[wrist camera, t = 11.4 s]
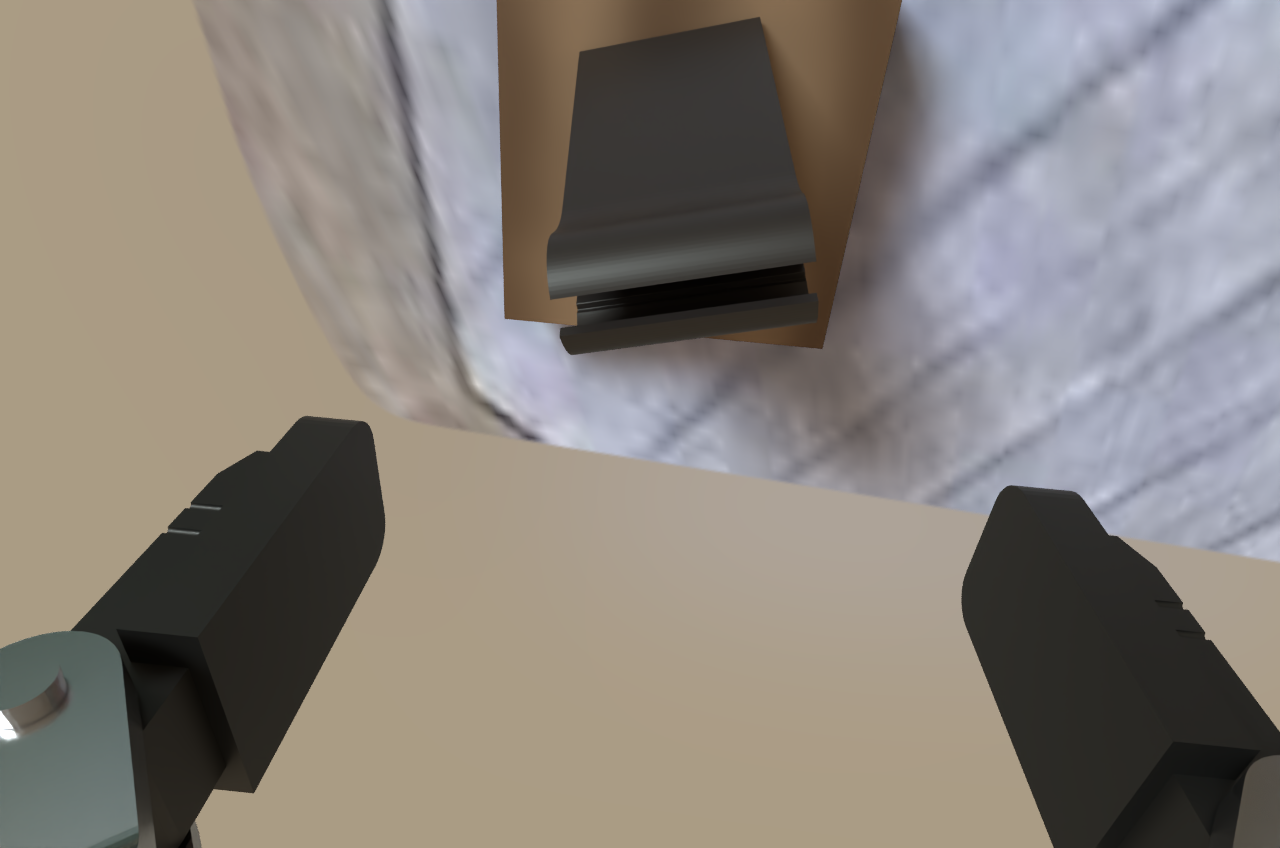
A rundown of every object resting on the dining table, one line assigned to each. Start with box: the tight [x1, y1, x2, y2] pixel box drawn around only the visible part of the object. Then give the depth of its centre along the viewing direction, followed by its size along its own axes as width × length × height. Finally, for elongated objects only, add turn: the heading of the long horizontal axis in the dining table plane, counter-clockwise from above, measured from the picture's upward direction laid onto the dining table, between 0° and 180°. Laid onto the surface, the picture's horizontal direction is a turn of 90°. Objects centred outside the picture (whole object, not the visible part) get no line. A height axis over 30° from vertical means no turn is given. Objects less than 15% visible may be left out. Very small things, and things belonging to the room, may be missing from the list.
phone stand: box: [547, 17, 819, 355], centre depth 22 cm, size 9×6×12 cm, turn 10°
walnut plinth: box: [497, 0, 902, 349], centre depth 29 cm, size 13×13×4 cm
